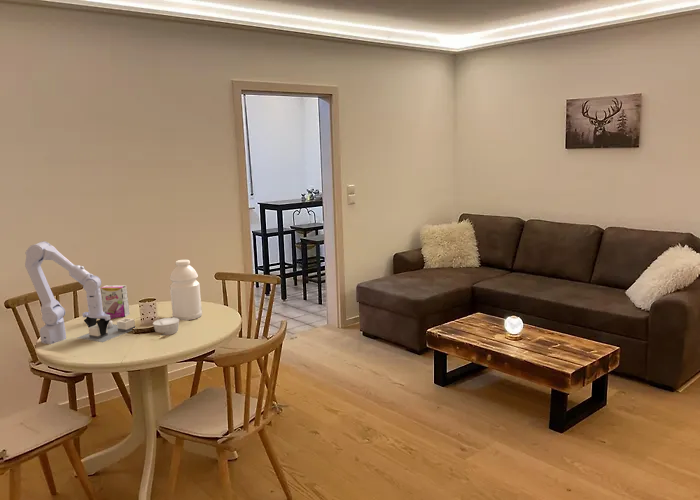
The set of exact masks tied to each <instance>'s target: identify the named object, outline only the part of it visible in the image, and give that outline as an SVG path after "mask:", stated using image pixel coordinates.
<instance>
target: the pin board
mask: <svg viewBox="0 0 700 500" xmlns="http://www.w3.org/2000/svg"><path fill="white" fill-rule="evenodd" d="M107 331H108V335H107V336H104V337H102V338H99V339H96V338H90V336H89V332H88V333H86V334H83V335H80V336H78V337H76V339H80V340H87V341H91V342H92V341H93V342H99V343H105V342H107V341H109V340H112V339H115V338H117V337H119V336H121V335H124V334H127V333H129V332H132V331H133V330H131V331H128V332H122V331H118V327H117V324H113V320H110V321H109V323H108V325H107Z"/></svg>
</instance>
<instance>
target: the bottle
mask: <svg viewBox="0 0 700 500" xmlns="http://www.w3.org/2000/svg"><path fill="white" fill-rule="evenodd" d="M190 264H191V260H189V259H179V260H176V261H175V267H174V268H173V270H172V271H171V273H170V276H169V280H170V281H171V284H170V285H169V290H170V291H169V292H170V300H171V301H170V302H171V310H172V318H177V319H179V321H191V320H192V321H193V320H196V319H199V318H201V317H202V315H203V310H202V299H201V297H202V296H201V287H200V286H201V285H200V284H201V283H200V282H199V281H198V280H197V278H198V277H199V274H198V272H197V271H196V269H195V268H194V267H193V266H192V265H190Z"/></svg>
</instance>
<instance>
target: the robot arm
mask: <svg viewBox="0 0 700 500" xmlns="http://www.w3.org/2000/svg"><path fill="white" fill-rule="evenodd" d="M25 255H26V256H25V263H24V264H25V265H24V267H25V269H26V272H27V274H28V276H29V279H30V281H31V283H32V285H33V287H34V290H35V291H36V294H37V297H38V298H39V301H40V303H41V307H40V311H41V320H42V322H43V323H44V325H43V326H41V327H40V328H39V336H40V343H42V344H45V345H46V344H48V345H53V344H55V343H58V342H61V341H64V340H66V339H67V333H66V325H65V320H64V316H65V315H66V309H65V308H64V307H63V306H62V305H61V303H60V301H58V300H57V299H56V298H55V296H54V293H53V291H52V290H51V286H50V285H49V282H48V280H47V278H46V275H45V273H44V270H43V267H42V264H43V262H44V261H53V262H55V263H56V264H58V265H59V266H60V267H62V268H63V269H65V270H66V271H68V274H69V276H70V277H71V278H72V279H74V280H75V281H77V282H78V284H80V285H82V288H83V290H84V291H85V294H86V301H87V302H86V303H87V309H88V311H85V312H82V318H83V323H85V324H86V326H87V327H88V328H89V327H92V326H94V325H97V324H98V326H99V330H100V334H101V336H103V335H106V329H107V326H108V323H109V321H111V320H110V315H107V314H105V312H103V304H102V295H101V287H102V279H101V278H100V277H99V276H98V275H94V274H93V273H91V272H89V271H88V270H86V269H85V266H83V265H80V264H79V265H78V264H74V263H73V262H71V261H70V260H69V259H68V258H67V257H65V256H64V255H63V253H61V252H60V251H58V249H57V248H56V247H55V246H54V245H52V244H51V243H49V242H48V241H45V240H43V241H39V242H38V243H35V244H32V245H30V246H29V247H28V248H27V250H26V251H25ZM84 318H85V319H84Z"/></svg>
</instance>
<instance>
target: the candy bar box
mask: <svg viewBox="0 0 700 500" xmlns="http://www.w3.org/2000/svg"><path fill="white" fill-rule="evenodd" d="M127 287H128V286H127V285H125V284H123V285H119V284H118V285H108V284H107V285H103V286H100V291H101V298H102V307H103V312H105V314H107V315H110V321H112V320H114V319H115V318H127V317H128V316H129V315H130V314H131V313H130V306H129V297H128V288H127Z"/></svg>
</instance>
